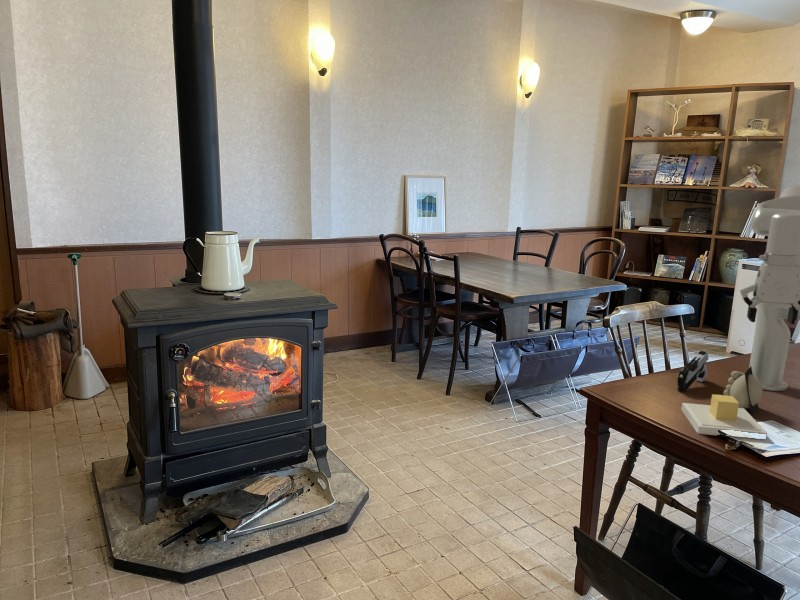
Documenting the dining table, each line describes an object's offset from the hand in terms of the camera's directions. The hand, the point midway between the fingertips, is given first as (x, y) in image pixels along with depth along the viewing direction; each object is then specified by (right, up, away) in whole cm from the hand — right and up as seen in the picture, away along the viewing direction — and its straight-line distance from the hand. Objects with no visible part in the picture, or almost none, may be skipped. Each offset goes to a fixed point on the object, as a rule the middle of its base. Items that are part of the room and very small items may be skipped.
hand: (770, 321), depth 163 cm
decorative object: (-4, -25, +8) cm, 27 cm away
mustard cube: (-15, -25, -4) cm, 29 cm away
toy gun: (-10, -21, +24) cm, 34 cm away
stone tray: (-15, -27, -3) cm, 31 cm away
